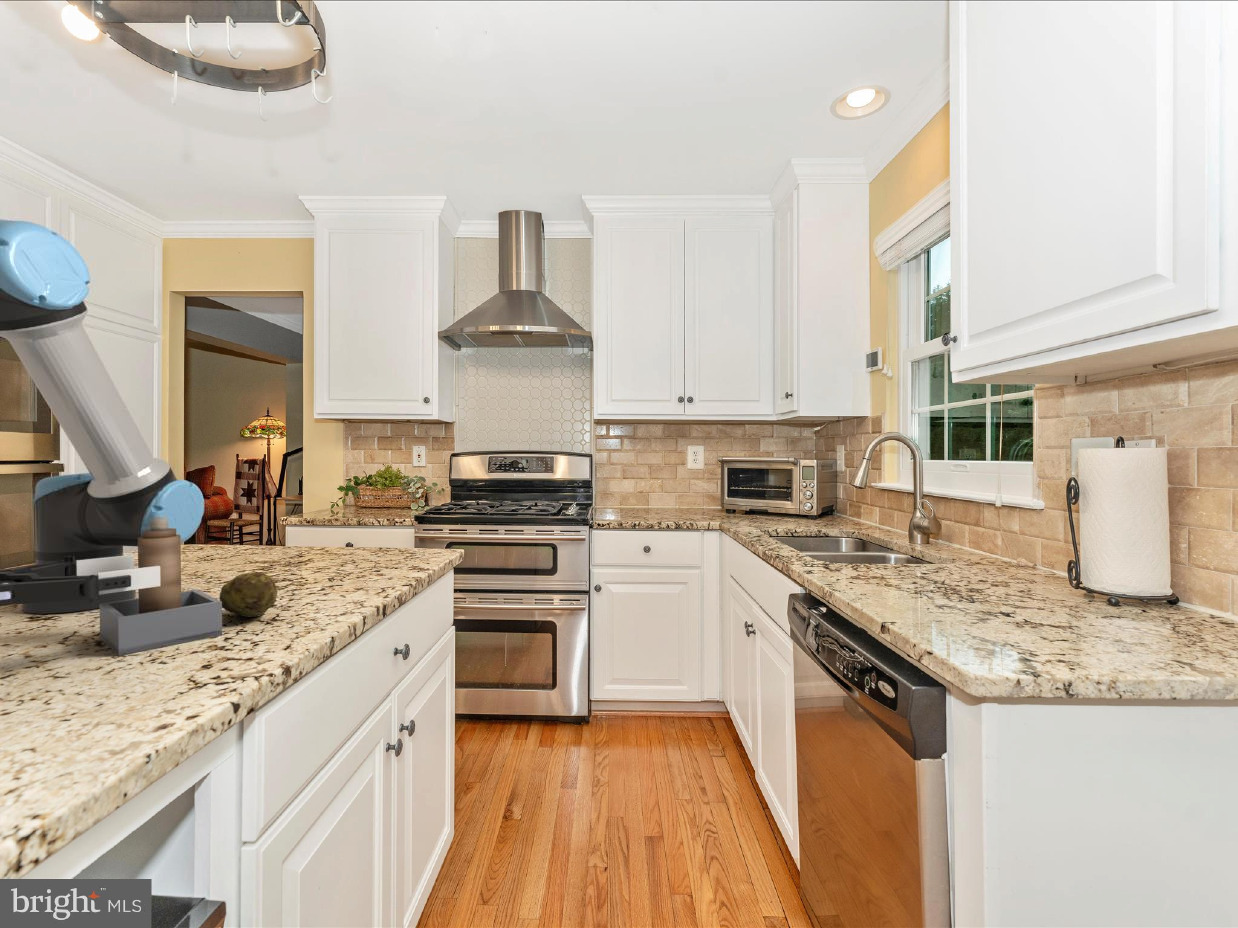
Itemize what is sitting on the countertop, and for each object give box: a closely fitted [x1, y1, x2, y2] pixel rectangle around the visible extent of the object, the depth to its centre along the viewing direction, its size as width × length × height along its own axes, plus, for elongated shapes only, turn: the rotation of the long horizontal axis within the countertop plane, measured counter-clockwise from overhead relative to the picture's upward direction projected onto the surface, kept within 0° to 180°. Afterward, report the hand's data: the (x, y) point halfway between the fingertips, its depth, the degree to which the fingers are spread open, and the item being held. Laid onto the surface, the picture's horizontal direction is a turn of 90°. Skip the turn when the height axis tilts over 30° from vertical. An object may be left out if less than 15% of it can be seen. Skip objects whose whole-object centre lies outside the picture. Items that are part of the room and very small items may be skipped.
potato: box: [218, 571, 278, 618], centre depth 98 cm, size 8×13×8 cm, turn 31°
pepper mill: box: [137, 517, 182, 614], centre depth 88 cm, size 5×5×17 cm
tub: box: [99, 589, 223, 657], centre depth 88 cm, size 12×12×5 cm
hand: (146, 569), depth 86 cm, fingers open, 13 cm apart
